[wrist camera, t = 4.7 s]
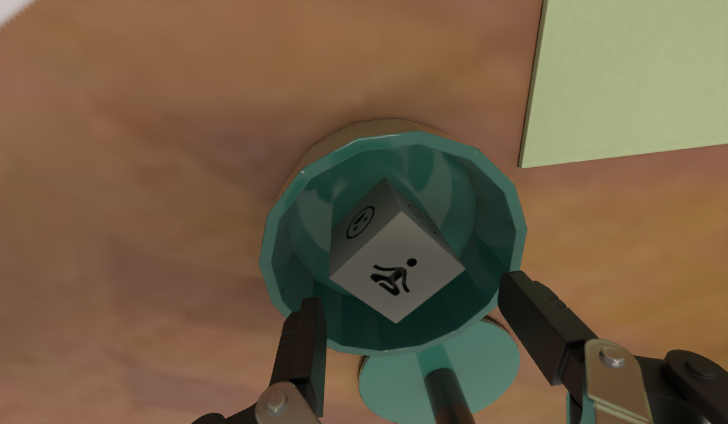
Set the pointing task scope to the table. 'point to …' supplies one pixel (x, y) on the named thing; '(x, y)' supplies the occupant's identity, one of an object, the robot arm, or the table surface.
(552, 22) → the placemat
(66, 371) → the table surface
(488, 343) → the pot lid
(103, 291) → the table surface
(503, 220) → the pot
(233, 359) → the table surface
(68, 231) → the table surface
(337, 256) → the dice cube
